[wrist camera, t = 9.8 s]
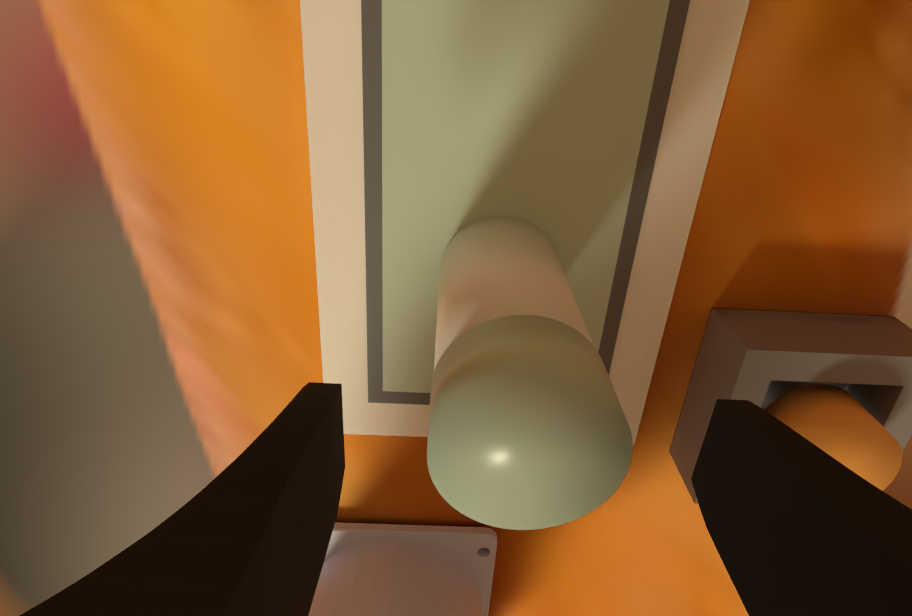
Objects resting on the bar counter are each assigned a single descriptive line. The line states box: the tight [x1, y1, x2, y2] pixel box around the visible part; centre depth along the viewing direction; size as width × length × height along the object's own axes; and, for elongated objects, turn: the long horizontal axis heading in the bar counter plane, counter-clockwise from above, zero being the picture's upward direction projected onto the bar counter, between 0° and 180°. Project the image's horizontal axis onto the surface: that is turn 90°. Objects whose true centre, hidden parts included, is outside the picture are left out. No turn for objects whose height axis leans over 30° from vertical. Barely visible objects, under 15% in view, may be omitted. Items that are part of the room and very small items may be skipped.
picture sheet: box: [300, 0, 750, 445], centre depth 17 cm, size 18×11×1 cm, turn 177°
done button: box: [765, 384, 902, 491], centre depth 18 cm, size 3×3×2 cm
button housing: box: [669, 308, 912, 503], centre depth 19 cm, size 6×6×2 cm
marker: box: [427, 216, 633, 530], centre depth 14 cm, size 4×4×8 cm
